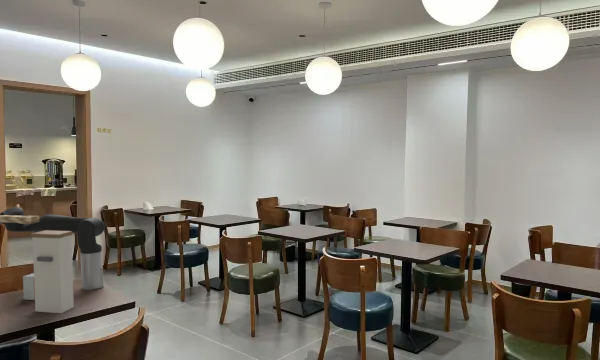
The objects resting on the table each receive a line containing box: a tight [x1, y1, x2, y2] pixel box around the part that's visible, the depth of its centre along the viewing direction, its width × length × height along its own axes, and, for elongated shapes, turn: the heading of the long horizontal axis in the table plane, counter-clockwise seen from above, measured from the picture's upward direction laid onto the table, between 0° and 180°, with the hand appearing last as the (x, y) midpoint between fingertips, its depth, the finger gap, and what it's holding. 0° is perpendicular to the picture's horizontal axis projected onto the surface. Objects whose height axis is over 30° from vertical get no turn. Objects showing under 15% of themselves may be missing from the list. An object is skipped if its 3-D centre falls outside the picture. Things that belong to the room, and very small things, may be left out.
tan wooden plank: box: [0, 215, 40, 224], centre depth 179 cm, size 22×5×2 cm, turn 79°
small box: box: [22, 272, 35, 301], centre depth 192 cm, size 8×6×10 cm
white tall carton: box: [30, 230, 75, 314], centre depth 176 cm, size 13×9×32 cm
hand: (1, 214), depth 179 cm, fingers closed on tan wooden plank, 3 cm apart
